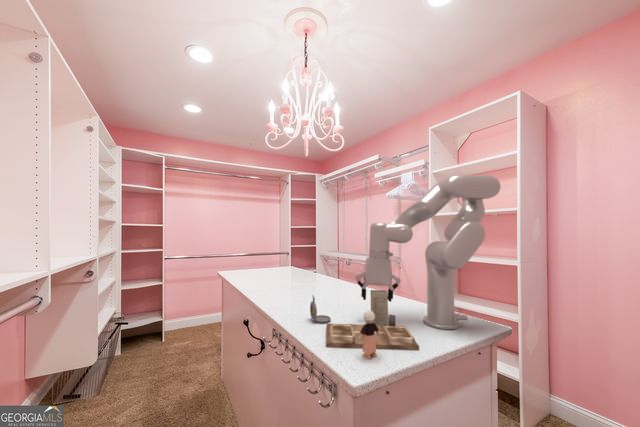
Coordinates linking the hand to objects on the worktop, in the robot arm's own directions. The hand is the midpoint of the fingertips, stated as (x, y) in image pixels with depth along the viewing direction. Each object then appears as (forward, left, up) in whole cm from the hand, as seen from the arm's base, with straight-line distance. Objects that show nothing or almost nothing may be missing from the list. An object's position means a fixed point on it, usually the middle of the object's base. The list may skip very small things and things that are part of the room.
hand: (376, 299), depth 101 cm
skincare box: (-1, 0, -9) cm, 9 cm away
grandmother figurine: (+7, +26, -9) cm, 28 cm away
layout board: (+5, +13, -9) cm, 17 cm away
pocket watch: (+22, -1, -9) cm, 24 cm away
